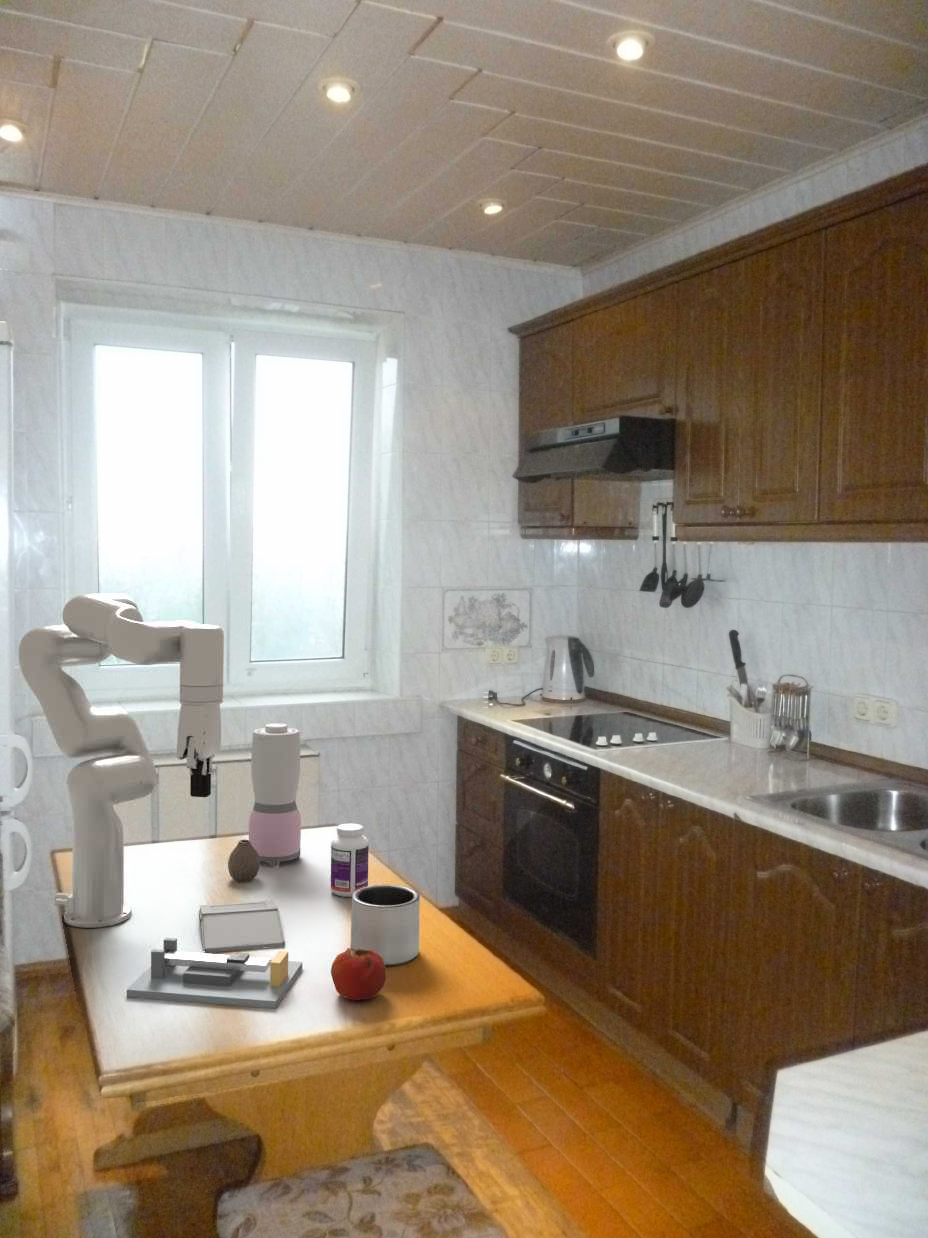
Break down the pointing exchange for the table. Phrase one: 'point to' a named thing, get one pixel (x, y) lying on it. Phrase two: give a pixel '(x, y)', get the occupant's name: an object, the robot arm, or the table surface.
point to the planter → (386, 922)
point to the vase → (243, 862)
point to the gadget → (240, 926)
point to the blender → (275, 794)
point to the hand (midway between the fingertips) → (200, 795)
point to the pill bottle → (349, 860)
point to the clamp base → (215, 994)
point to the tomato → (358, 974)
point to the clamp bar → (218, 961)
